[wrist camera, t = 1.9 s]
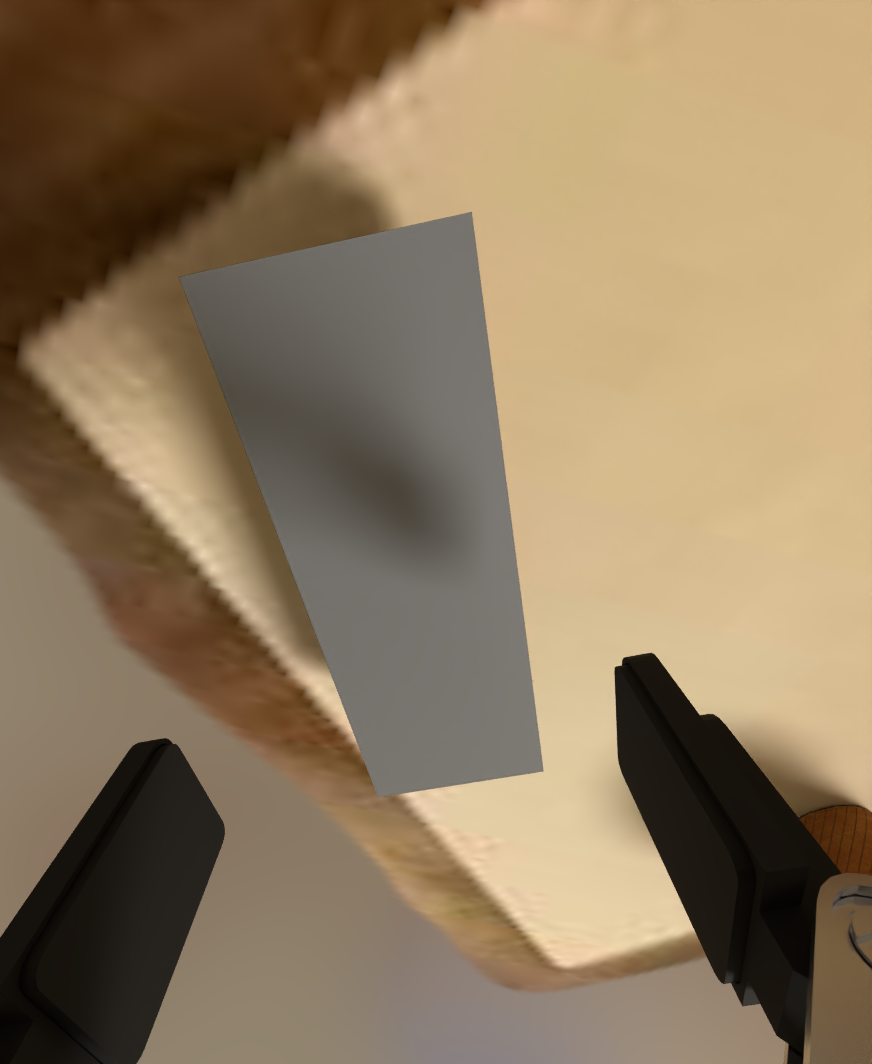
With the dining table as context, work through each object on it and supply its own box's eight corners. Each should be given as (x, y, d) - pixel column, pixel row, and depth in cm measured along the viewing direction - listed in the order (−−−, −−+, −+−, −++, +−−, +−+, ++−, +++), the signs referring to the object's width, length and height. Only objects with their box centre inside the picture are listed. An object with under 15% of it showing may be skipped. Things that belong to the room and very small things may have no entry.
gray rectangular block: (230, 284, 12) (178, 276, 10) (459, 233, 12) (472, 212, 9) (383, 732, 20) (378, 797, 18) (526, 709, 20) (543, 771, 17)
